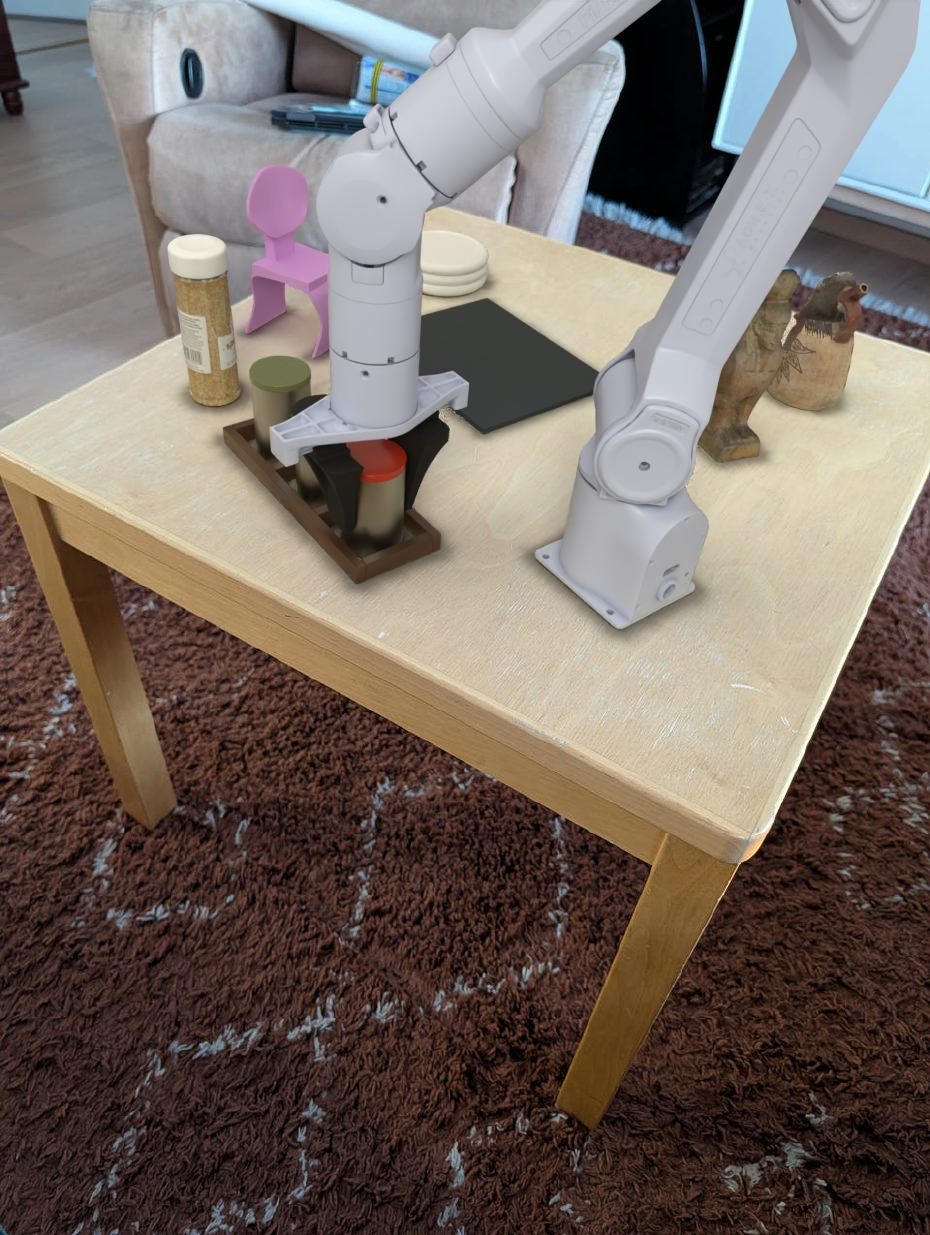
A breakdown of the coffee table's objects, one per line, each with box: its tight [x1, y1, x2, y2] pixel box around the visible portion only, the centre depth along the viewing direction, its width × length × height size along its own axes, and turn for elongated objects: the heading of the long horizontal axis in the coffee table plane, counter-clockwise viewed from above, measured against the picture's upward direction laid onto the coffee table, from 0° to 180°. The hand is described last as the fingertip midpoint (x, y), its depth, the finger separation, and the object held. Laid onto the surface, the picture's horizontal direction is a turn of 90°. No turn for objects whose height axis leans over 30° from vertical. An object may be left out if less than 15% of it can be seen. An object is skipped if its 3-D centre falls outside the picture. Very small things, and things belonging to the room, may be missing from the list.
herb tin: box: [248, 355, 312, 465], centre depth 74 cm, size 5×5×8 cm
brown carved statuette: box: [697, 268, 801, 463], centre depth 78 cm, size 12×6×18 cm, turn 16°
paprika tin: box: [340, 438, 407, 559], centre depth 67 cm, size 5×5×8 cm
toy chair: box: [244, 164, 329, 360], centre depth 85 cm, size 8×9×15 cm
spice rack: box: [222, 417, 442, 585], centre depth 72 cm, size 21×7×2 cm, turn 37°
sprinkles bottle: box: [167, 233, 242, 407], centre depth 77 cm, size 5×5×14 cm
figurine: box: [766, 271, 869, 412], centre depth 86 cm, size 7×7×12 cm
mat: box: [418, 297, 600, 435], centre depth 90 cm, size 20×16×1 cm
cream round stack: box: [421, 229, 490, 297], centre depth 101 cm, size 10×10×4 cm
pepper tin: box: [292, 393, 349, 510], centre depth 70 cm, size 5×5×8 cm
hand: (372, 513), depth 68 cm, fingers closed on paprika tin, 4 cm apart
